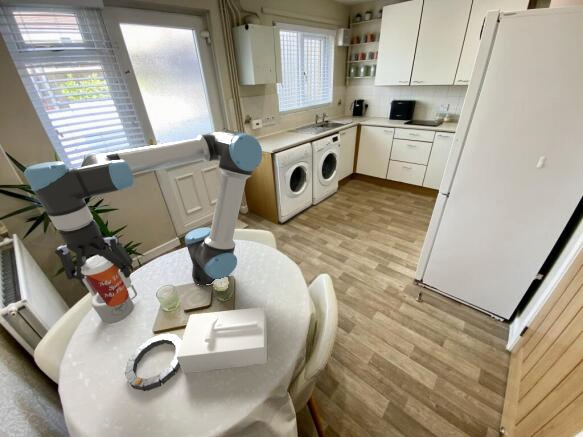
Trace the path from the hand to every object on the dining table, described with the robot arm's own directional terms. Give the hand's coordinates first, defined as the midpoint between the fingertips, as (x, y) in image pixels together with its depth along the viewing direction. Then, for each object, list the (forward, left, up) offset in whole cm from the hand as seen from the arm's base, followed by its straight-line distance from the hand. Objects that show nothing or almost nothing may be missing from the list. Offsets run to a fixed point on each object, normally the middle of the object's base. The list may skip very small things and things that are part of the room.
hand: (112, 288), depth 72 cm
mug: (+9, -16, -24) cm, 30 cm away
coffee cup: (0, 0, -4) cm, 4 cm away
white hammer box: (-29, +15, -24) cm, 40 cm away
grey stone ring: (-7, +12, -23) cm, 27 cm away
